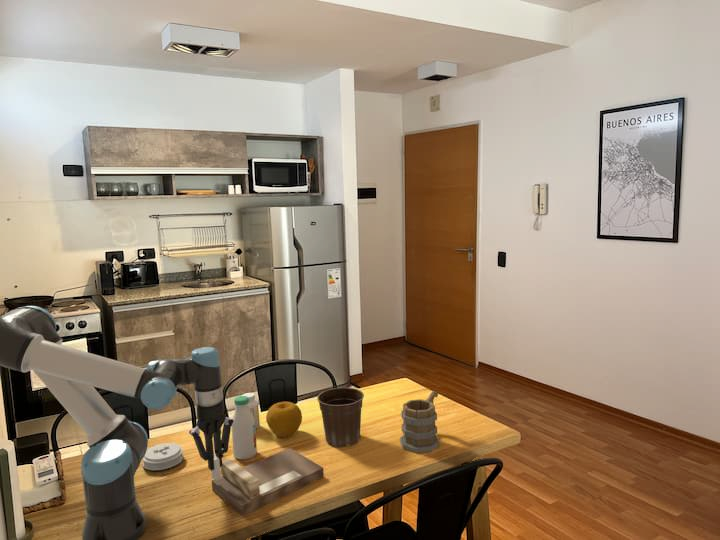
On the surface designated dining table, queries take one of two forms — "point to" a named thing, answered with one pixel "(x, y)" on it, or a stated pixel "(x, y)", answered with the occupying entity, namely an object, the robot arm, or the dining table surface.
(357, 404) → the plant pot
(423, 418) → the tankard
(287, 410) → the apple
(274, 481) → the stool seat
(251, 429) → the milk bottle
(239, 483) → the folding leg
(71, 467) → the dining table surface
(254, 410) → the supplement bottle
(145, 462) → the lid
